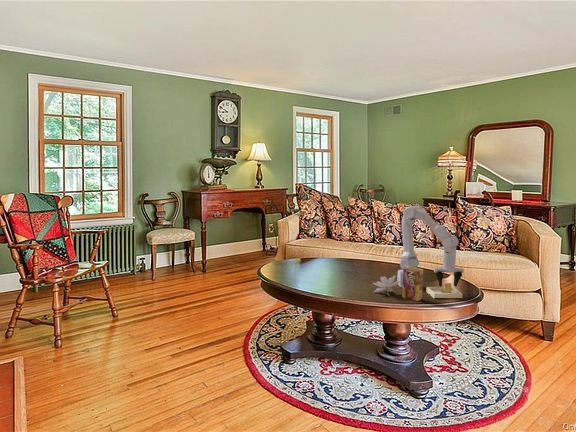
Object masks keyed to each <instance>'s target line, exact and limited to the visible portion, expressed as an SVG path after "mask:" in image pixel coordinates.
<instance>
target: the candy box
mask: <svg viewBox="0 0 576 432" xmlns="http://www.w3.org/2000/svg"><path fill="white" fill-rule="evenodd" d="M423 283H424V269H423V268H419V267H416V268H413V267H404V268H403V287H402V294H401V295H402V296H401V297H402V298H403V299H408V300H413V301H416V302H417V301H418V302H420V301H421V299H423V288H424V287H423V286H424V284H423Z"/></svg>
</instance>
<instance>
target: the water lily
mask: <svg viewBox="0 0 576 432" xmlns="http://www.w3.org/2000/svg"><path fill="white" fill-rule="evenodd" d="M396 277H397V275H393V276H391V277H389V278H387V276H385V275H384V276H380V281H376V282H373V283H372V284H373V285H375V286H377V287H378V288H375V290H374V291H373V293H379V292H382V291H384V290H386V292H387V295H388V297H390V296H391V295H390V293H389V292H392V293H393V287H395V286H397V285H398V284H399V283H400V282H401V281H395V279H396Z"/></svg>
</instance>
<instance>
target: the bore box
mask: <svg viewBox="0 0 576 432" xmlns="http://www.w3.org/2000/svg"><path fill="white" fill-rule="evenodd" d="M444 287H445V286H442V287H440V286H425V292H426V293H427V294H428V295H429V294H430V295H429V296H431V297H432V298H433V299H434V298H462V299H463V293H462V292H461V291H459V290H458V289H456V287H454V286H451V293H444Z"/></svg>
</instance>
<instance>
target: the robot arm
mask: <svg viewBox="0 0 576 432" xmlns="http://www.w3.org/2000/svg"><path fill="white" fill-rule="evenodd" d="M416 220H420V221H421V220H422V221H423V222H424V223H425V224H426V225H427V226H428V227H429V228H431V229H432V233H433V235H434V236H436V238H437V239H439V240H440V241H441V244H442V246H443V260H442V261H443V263H442V267H433V272H434V273H435V275H436V277H437V281H438V287H443V276H444V273H453V287H454V288H456V287H458V284H459V281H460V279H461V278H462V277H463V274H464V273H465V272H464V271H465V269H464V268H463V267H456V257H457V247H458V245H459V239H458V237H457V236H455V235H453V234H452V233H450V232H449V231H448V230H447V229H446V227H445V226H443V225H439V224H437V222H436V221H435V220H434V219H433V218H432V217H431V215H429V213H428V212H427V210H426V209H425V208H424V207H423V206H421V205H414V206H413V205H412V206H407V207H406V208H405V209H404V210H403V214H402V218H401V230H402V231H401V232H402V245H403V246H402V249H403V252H402V255H401V257H400V261H399V266H400V268H401V269H398V270H397V275H396V277H397V278H396V279H397V281H401V282H400V283H399V284H397V285H398V286H399V287H400V288H403V268H404V267H413V268H419V265H420V262H419V258H418V257H417V256H418V255H417V253H416V252H415V248H414V247H415V244H414V234H413V223H414V222H415V221H416Z"/></svg>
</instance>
